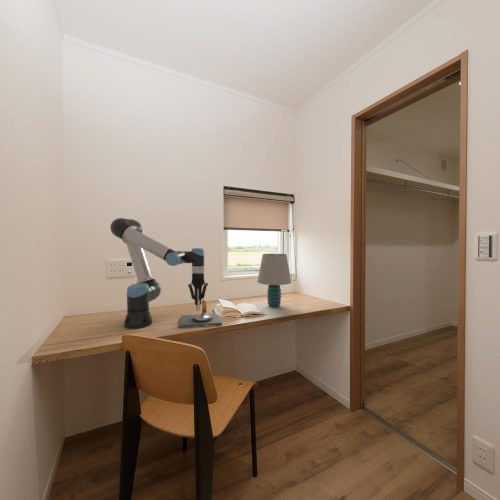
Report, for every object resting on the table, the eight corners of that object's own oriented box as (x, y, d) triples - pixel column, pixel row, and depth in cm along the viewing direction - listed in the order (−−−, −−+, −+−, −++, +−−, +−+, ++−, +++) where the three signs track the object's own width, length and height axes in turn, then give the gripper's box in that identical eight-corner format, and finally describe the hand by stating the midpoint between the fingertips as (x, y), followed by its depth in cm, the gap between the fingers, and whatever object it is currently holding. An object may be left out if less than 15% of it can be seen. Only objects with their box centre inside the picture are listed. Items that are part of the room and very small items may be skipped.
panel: (179, 328, 141) (179, 325, 141) (181, 317, 160) (181, 315, 160) (221, 325, 146) (221, 322, 146) (218, 315, 165) (218, 312, 165)
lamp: (282, 312, 172) (283, 255, 170) (251, 307, 185) (251, 254, 183) (296, 304, 193) (296, 254, 192) (267, 300, 207) (267, 253, 205)
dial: (209, 321, 147) (209, 305, 147) (192, 321, 147) (192, 305, 147) (212, 314, 162) (212, 299, 161) (196, 314, 162) (196, 299, 161)
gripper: (190, 274, 151) (190, 312, 151) (210, 272, 158) (209, 309, 159) (185, 272, 157) (185, 310, 157) (205, 271, 164) (204, 307, 165)
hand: (197, 309), depth 158 cm, fingers closed
